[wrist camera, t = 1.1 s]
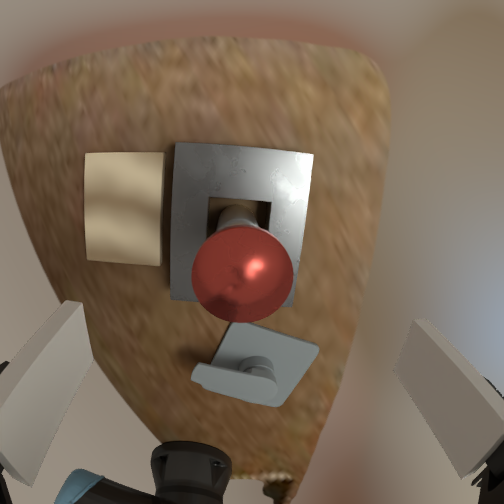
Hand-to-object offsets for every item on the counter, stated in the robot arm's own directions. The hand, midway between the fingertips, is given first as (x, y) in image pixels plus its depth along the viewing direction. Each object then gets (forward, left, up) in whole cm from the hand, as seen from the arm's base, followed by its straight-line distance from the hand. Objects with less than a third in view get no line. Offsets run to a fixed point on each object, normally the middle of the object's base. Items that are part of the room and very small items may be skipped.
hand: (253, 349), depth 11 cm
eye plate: (0, 0, -22) cm, 22 cm away
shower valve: (-19, -3, -23) cm, 30 cm away
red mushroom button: (0, 0, -22) cm, 22 cm away
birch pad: (+1, +13, -22) cm, 25 cm away
